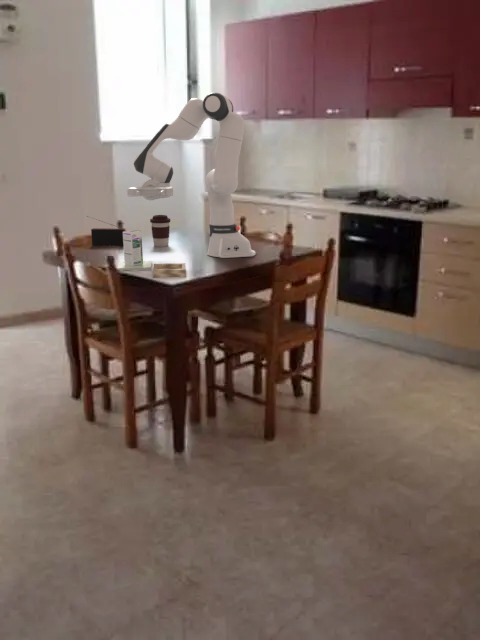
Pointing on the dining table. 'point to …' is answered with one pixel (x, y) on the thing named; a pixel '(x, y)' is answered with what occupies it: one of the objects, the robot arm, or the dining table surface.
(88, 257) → the dining table surface
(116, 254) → the dining table surface
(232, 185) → the robot arm
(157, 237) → the coffee cup
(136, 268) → the sage mat
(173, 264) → the birch holder
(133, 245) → the syrup box
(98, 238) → the radio
